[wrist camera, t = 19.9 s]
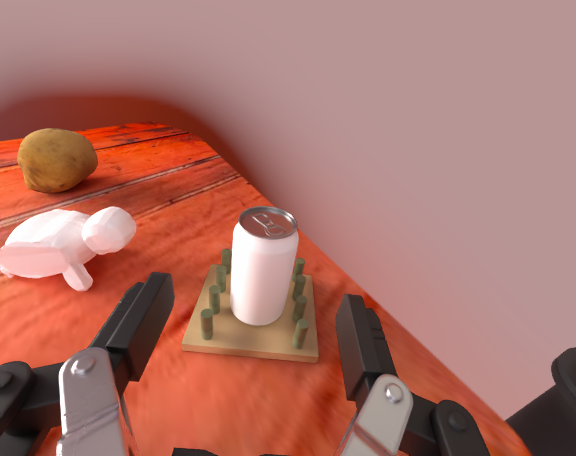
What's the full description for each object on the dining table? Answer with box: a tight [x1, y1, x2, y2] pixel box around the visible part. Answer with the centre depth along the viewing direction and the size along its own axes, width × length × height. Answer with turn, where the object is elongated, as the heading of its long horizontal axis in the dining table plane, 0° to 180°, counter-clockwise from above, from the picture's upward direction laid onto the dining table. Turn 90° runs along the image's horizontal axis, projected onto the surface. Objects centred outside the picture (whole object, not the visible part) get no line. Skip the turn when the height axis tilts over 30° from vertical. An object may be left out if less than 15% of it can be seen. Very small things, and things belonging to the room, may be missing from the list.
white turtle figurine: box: [0, 207, 137, 291], centre depth 32 cm, size 9×8×15 cm
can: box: [230, 206, 299, 326], centre depth 29 cm, size 6×6×12 cm
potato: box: [17, 128, 98, 193], centre depth 47 cm, size 10×12×10 cm
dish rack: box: [181, 249, 319, 363], centre depth 31 cm, size 14×12×5 cm
